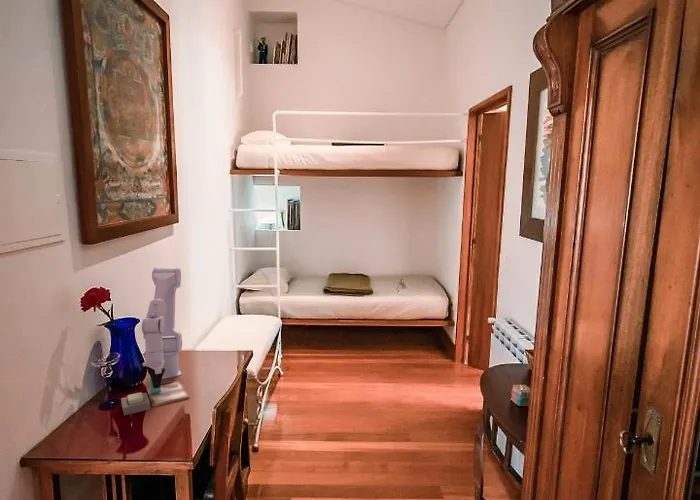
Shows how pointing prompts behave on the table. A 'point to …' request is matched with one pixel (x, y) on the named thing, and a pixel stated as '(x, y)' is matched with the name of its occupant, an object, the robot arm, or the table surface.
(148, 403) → the button housing
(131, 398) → the button
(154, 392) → the teal rimmed box
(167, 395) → the clipboard
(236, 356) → the table surface
